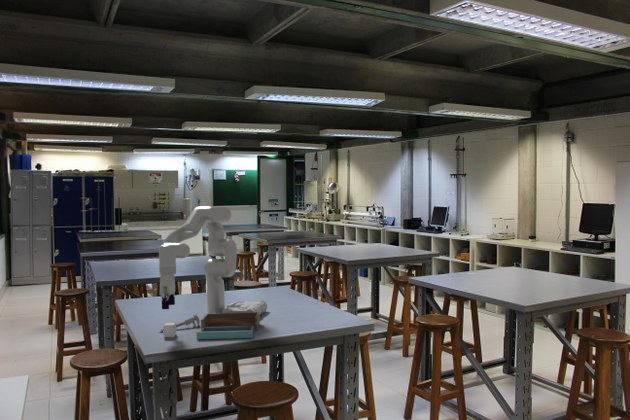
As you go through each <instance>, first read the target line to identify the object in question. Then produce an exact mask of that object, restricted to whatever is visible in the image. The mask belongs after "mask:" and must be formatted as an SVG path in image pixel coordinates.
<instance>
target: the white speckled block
mask: <svg viewBox="0 0 630 420" xmlns="http://www.w3.org/2000/svg"><path fill="white" fill-rule="evenodd" d="M176 324H177V322H166V323H165V324H163V329H164V332H163V338H164V337H174V336H175V335H176V336H177V328H176ZM176 336H175V337H176ZM175 337H174V338H175Z"/></svg>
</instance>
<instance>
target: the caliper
mask: <svg viewBox="0 0 630 420" xmlns="http://www.w3.org/2000/svg"><path fill="white" fill-rule="evenodd" d="M191 324H192V325H193V327H196V326H199V327H200V317H199V315H197V314H195V315H194V314H193V315H192V317H190V318H187V319H184V320H183V321H181V322H178V323H176V329H177V328H179V327H182V326H188V325H191ZM196 324H197V325H196ZM162 331H164V328H162V329H161V328H160V333H163V332H162Z"/></svg>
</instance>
